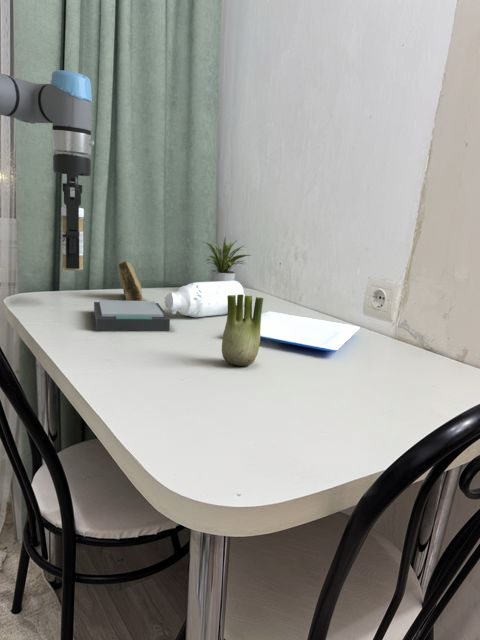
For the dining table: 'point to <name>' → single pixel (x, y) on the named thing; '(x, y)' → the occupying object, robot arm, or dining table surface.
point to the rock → (130, 282)
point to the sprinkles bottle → (81, 215)
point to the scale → (130, 316)
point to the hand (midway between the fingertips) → (72, 266)
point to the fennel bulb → (242, 330)
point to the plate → (305, 331)
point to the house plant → (224, 262)
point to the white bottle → (203, 298)
